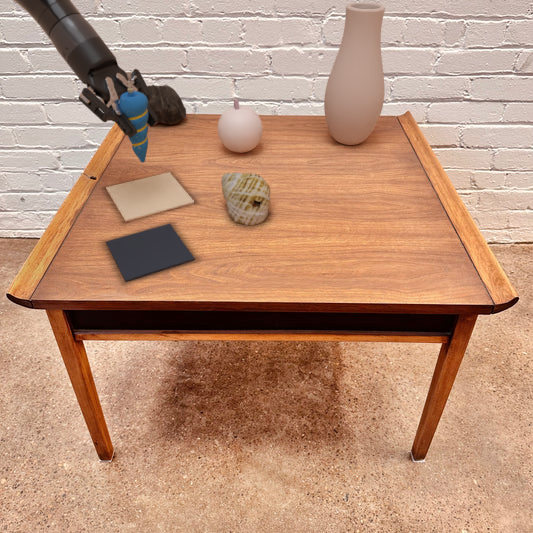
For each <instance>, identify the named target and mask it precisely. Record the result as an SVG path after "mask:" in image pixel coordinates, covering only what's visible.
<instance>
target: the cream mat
mask: <svg viewBox="0 0 533 533" xmlns="http://www.w3.org/2000/svg"><path fill="white" fill-rule="evenodd" d="M105 189H106V191H107V193H108V195H109V196H110V199H111V200H112V201H113V203H114V205H115V207H116V208H117V210H118V212H119V213H120V215H121V216H122V219H123V220H124V221H125V222H126V223H127V222H131V221H134V220H137V219H142V218H145V217H149V216H152V215H156V214H159V213H164V212H168V211H171V210H175V209H178V208H182V207H186V206H189V205H193V204H195V201H194V199H193V198H192V197H191V196H190V195H189V193H188V192H187V191H186V190H185V188H184V187H183V186H182V185H181V184H180V183H179V181H178V180H177V179H176V178H175V176H173V174H172V173H171V172H170V171H167V172H164V173H160V174H159V173H158V174H156V175H151V176H148V177H147V176H146V177H143V178H139V179H135V180H131V181H127V182H123V183H118V184H114V185H109V186H106V187H105Z"/></svg>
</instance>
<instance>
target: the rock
mask: <svg viewBox="0 0 533 533" xmlns="http://www.w3.org/2000/svg"><path fill="white" fill-rule="evenodd" d="M147 87H148V89H149V90H150V92H151V94H152V97H151V98H150V99H149V100H148V105H149V106H150V108H151V109H152V110H153V111H154V113H155V114H156V115H157V119H158V122H157V124H160V123H161V124H164V125H176V124H177V123H179V122H181V121H183V120H184V119H186V118H187V108H186V107H185V105H184V102H183V100H182V97H180V95H179V94H178V93H177V91H176V90H175V89H174V88H173V87H171V86H169V85H155V84H152V85H147Z"/></svg>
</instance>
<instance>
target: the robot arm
mask: <svg viewBox="0 0 533 533" xmlns="http://www.w3.org/2000/svg"><path fill="white" fill-rule="evenodd" d="M12 1H13V2H15V3H16V4H17V5H18V6H20V7H21V8H22V9H23V10H24V11H25V12H26V13H28V15H30V17H31V18H32V19H33V20H34V21H35V22H36V24H37V25H38V26H39V27H40V29H42V31H43V32H44V33H45V35H46V36H47V37H48V38H49V40H50V42H51V43H52V44H53V46H54V48H55V50H56V51H57V53H58V54H59V55H60V56H61V58H62V59H63V60H64V62H65V63H66V64H67V65H68V66H69V68H70V69H71V70H72V72H73V73H74V74H75V76H76V77H77V78H78V80H79V81H80V82H81V83H82V84H84V85H86V87H83V88H82V90H81V91H80V93H79V95H78V98H77V99H78V100H79V101H80V103H82V104H83V105H84V107H86V108H87V109H88V110H89V111H90V112H91V113H93V114H94V115H95V116H96V117H97V118H98V119H99V120H100V121H101V122H103V123H107V122H108V121H109V122H110V121H111V122H114V123H115V124H116V125H117V126H118V128H119V129H120V131H121V132H122V133H123V134H124V135H125V136H127V137H128V136H129V137H130V138H131V137H133V136H134V135H135V134H136V133H137V129H136V128H135V127H134V125H133V124H132V123H131V121H130V120H129V119H128V118H127V116H126V115H125V114H123V115H122V110H121V108H120V105H119V100H120V97H121V95H122V94H123V93H126V92H128V90H127V89H128V88H130V86H131V88H133V91H137V92H141V93H143V94H144V95H145V96H146V97H147V99H148V100H149V99H150V98H151V97H152V94H151V92H150V90H149V89H148V87H147V86H148V85H147V83H146V81H145V79H144V77H143V75H142V74H141V71H140V70H139V69H137V68H134V69H133V70H132V71H128V72H127V71H126V70H124V69H123V68H122V67H121V66H119V63H118V60H117V57H116V55H115V54H114V53H113V52H112V51H111V49H110V47H108V45H107V44H106V43H105V41H104V39H102V38H101V36H100V35H99V33H98V32H97V31H96V30H95V28H94V27H93V26H92V24H91V23H90V22H89V21H88V20H86V18H85V17H84V16H83V14H82V13H81V12H80V10H79V9H78V8H77V7H76V5H75V4H74V3H73V2H72V1H71V0H12ZM147 110H148V120H147V125H148V127H150V128H153V127H155V126H156V125H157V124H158V123H157V122H158V119H157V115H156V114H155V113H154V111H153V110H152V109H151V108H150V106H149V105H148V106H147ZM129 137H128V138H129Z"/></svg>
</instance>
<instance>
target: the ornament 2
mask: <svg viewBox="0 0 533 533" xmlns="http://www.w3.org/2000/svg"><path fill="white" fill-rule="evenodd" d="M263 127H264V126H263V122H262V119H261V117H260V116H259V115H258V113H257V112H256V111H255V110H254V109H252V108H250V107H248V106H243V105H240V101H239V99H238V98H234V99H233V106H232V107H229V108H228V109H226V110H224V112H222V114H221V116H219V119H218V123H217V135H218V138H219V140H220V142H221V144H222V145H223V146H224V147H225V148H226V149H227V150H229V151H231V152H233V153H241V154H242V153H248V152H250V151H252V150H253V149H255V148H257V146H258V145H259V144H260V142H261V140H262V137H263V133H264V128H263Z"/></svg>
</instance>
